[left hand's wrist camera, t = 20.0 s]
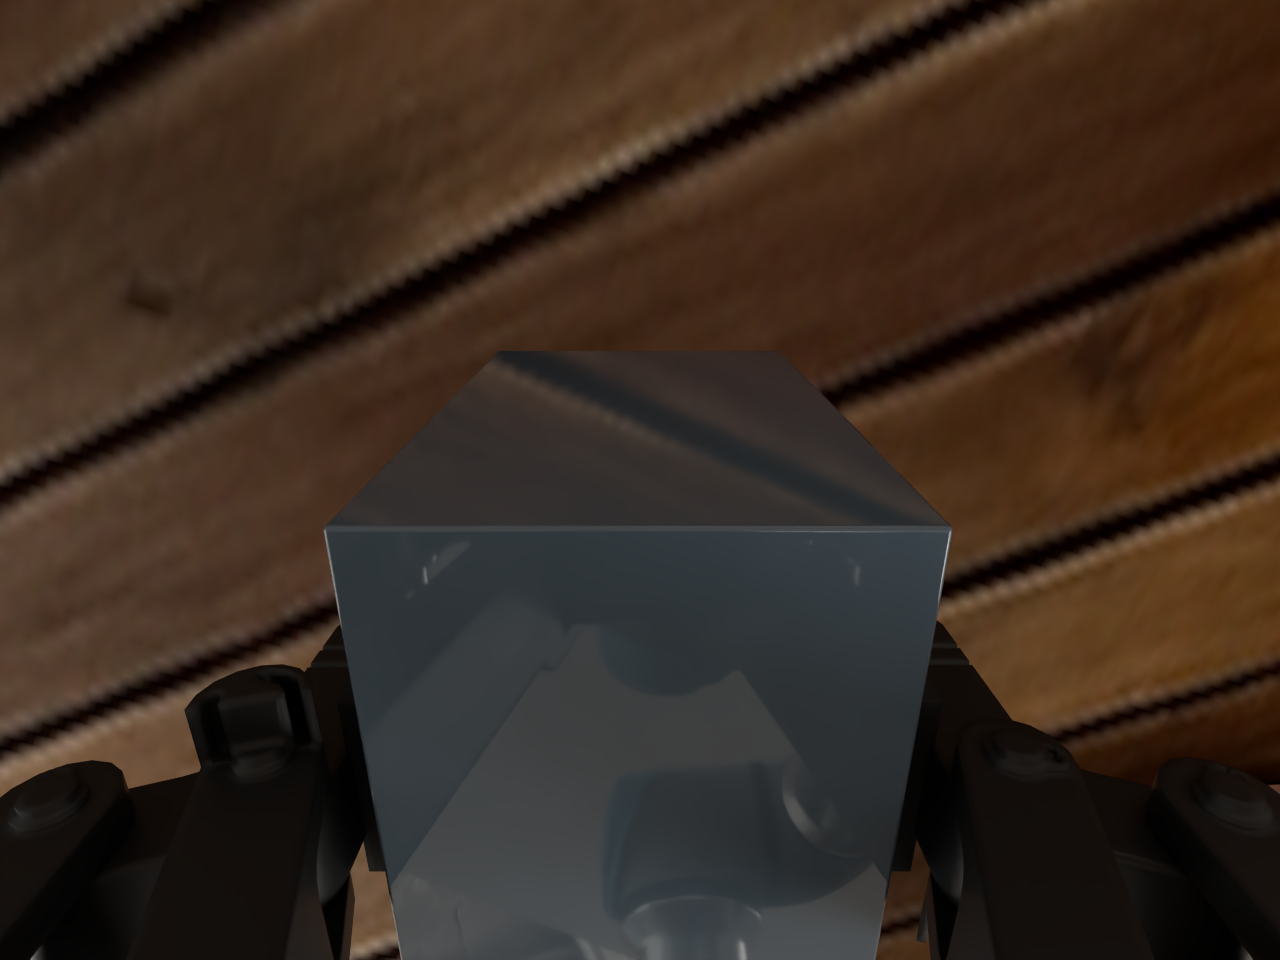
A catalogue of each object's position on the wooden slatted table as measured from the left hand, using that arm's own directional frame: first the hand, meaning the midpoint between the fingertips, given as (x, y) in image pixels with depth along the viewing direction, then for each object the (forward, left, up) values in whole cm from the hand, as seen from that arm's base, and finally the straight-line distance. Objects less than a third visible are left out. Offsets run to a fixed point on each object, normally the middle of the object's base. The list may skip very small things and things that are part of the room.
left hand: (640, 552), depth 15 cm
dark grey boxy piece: (0, 0, -1) cm, 1 cm away
